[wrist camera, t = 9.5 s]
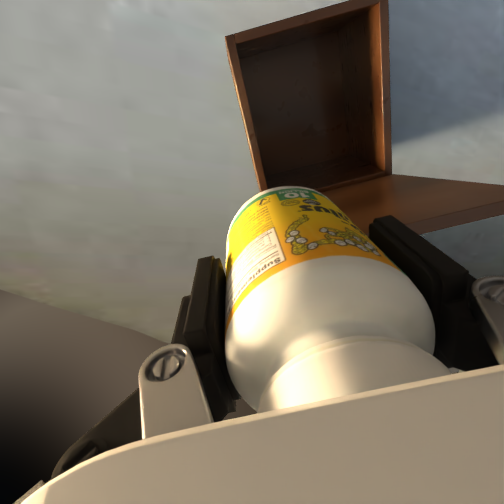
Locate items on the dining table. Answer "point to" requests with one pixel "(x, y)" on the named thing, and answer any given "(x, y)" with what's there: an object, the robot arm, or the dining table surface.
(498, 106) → the dining table surface
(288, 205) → the supplement bottle
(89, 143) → the dining table surface
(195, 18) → the dining table surface
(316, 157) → the chest
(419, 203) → the lid
